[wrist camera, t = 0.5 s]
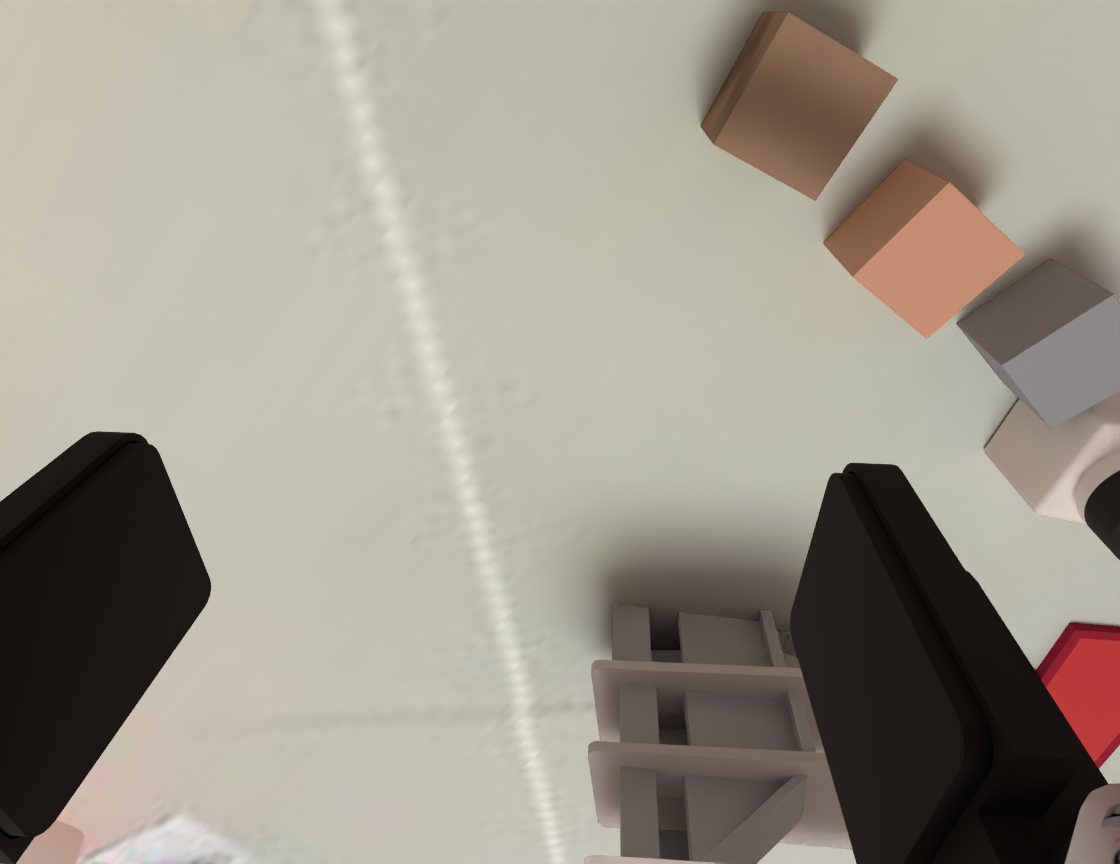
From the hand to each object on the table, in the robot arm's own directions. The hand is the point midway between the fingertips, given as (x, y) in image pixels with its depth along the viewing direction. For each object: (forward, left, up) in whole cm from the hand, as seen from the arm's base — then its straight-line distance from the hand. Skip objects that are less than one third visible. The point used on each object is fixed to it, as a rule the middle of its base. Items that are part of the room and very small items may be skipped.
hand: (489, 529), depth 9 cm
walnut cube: (-8, +7, -34) cm, 35 cm away
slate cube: (-8, +29, -34) cm, 45 cm away
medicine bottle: (-5, +37, -34) cm, 51 cm away
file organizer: (+27, +35, -34) cm, 56 cm away
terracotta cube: (-7, +18, -34) cm, 39 cm away
